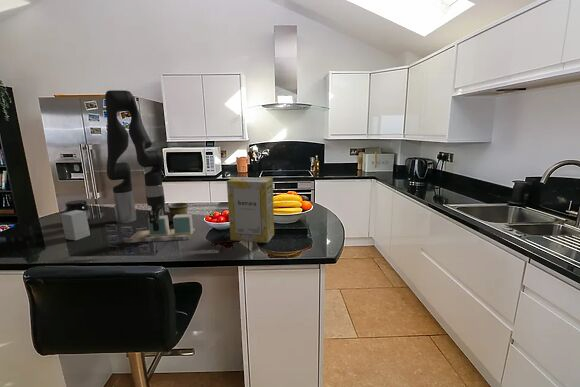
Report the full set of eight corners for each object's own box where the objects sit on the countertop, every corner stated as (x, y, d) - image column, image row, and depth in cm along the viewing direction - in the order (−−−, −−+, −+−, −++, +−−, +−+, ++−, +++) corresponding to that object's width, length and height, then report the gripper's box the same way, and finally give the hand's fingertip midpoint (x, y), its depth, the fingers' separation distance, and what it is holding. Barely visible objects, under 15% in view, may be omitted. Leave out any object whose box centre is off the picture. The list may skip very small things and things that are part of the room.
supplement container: (63, 224, 155) (59, 203, 152) (83, 218, 165) (79, 198, 162) (76, 226, 151) (71, 205, 149) (95, 220, 161) (91, 200, 158)
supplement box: (90, 235, 138) (86, 210, 135) (75, 240, 131) (70, 215, 129) (80, 233, 141) (75, 209, 138) (64, 239, 134) (59, 213, 131)
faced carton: (174, 235, 132) (172, 217, 130) (177, 232, 137) (175, 214, 135) (191, 235, 133) (189, 217, 131) (193, 231, 137) (191, 214, 135)
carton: (150, 237, 130) (147, 219, 128) (153, 233, 135) (151, 216, 133) (166, 236, 131) (164, 218, 129) (169, 233, 136) (167, 215, 134)
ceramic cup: (192, 221, 156) (191, 204, 154) (175, 226, 149) (173, 208, 147) (181, 217, 165) (180, 200, 163) (164, 221, 158) (162, 204, 156)
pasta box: (230, 239, 130) (226, 181, 124) (239, 231, 140) (236, 177, 134) (267, 242, 126) (265, 182, 120) (274, 234, 136) (272, 178, 130)
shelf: (124, 245, 125) (123, 239, 124) (138, 233, 139) (137, 227, 139) (189, 242, 128) (188, 235, 127) (196, 230, 142) (195, 224, 142)
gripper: (158, 197, 122) (162, 232, 126) (168, 190, 136) (172, 222, 140) (140, 198, 121) (145, 233, 125) (152, 191, 135) (156, 223, 139)
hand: (159, 227), depth 132 cm, fingers open, 7 cm apart
